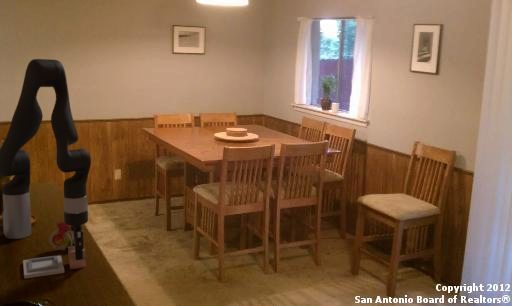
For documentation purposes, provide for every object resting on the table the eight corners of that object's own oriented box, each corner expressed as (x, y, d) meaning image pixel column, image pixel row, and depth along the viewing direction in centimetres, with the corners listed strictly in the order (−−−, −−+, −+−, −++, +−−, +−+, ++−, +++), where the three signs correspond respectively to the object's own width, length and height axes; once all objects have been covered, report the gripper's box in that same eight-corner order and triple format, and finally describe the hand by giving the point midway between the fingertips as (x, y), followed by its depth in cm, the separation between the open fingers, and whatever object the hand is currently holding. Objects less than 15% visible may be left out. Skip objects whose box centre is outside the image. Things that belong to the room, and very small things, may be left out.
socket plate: (23, 263, 173) (22, 258, 172) (60, 258, 178) (60, 253, 178) (24, 278, 162) (24, 272, 162) (64, 272, 167) (64, 267, 167)
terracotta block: (68, 263, 175) (68, 246, 174) (83, 261, 177) (83, 245, 176) (70, 269, 170) (69, 252, 169) (85, 267, 173) (85, 250, 171)
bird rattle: (56, 259, 182) (81, 247, 184) (42, 233, 179) (66, 221, 181) (57, 252, 188) (80, 241, 190) (42, 227, 184) (67, 216, 186)
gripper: (61, 203, 174) (63, 248, 177) (66, 216, 162) (68, 264, 165) (84, 201, 177) (86, 245, 181) (90, 214, 165) (92, 261, 168)
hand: (77, 254), depth 173 cm, fingers open, 8 cm apart
